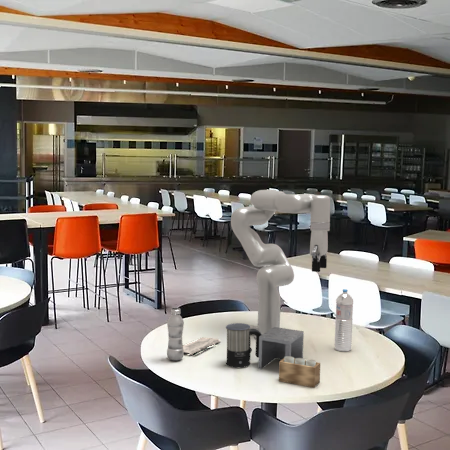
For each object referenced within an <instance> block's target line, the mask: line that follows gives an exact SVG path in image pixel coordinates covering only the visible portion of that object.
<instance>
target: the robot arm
mask: <svg viewBox="0 0 450 450" xmlns="http://www.w3.org/2000/svg"><path fill="white" fill-rule="evenodd" d="M249 202H250V204H251V206H243V207H242V206H241V207H238V208H236V209H235V210H234V211H233V212H232V214H231V217H230V226H231V230H232V231H233V233H234V235H235V237H236V239H238V241H239V242H240V245H241V246H242V248H243V250H244V252H245V254H246V255H247V257H248V259H249V261H250V262H251V264H252V265H253V266H254V267H256V268H257V267H259V268H260V267H261V268H260V269H258V271H257V273H256V284H257V291H258V292H257V293H258V295H257V296H258V298H257V299H258V300H257V303H258V304H257V305H258V306H257V308H258V309H257V310H258V311H257V326H254V325H250V328H249V329H257V330H258V331H259V332H260V333H261V334H264V333H266V332H267V331H269V330H270V329H272V328H274V327H278V328H281V327H280V326H281V325H280V324H281V295H280V292H279V290H278V287H284V286H289V285H290V284H292V283H293V281H294V278H295V273H294V269H293V267H292V265H291V263H290V261H289V260H288V258H287V256H286V255H285V253H284V251H283V249H282V248H281V247H280V246H279V245H278V244H276V243H264V242H263V241H262V239H261V237H260V235H259V234H258V232H257V231H255V229H252V228H251V227H252V226H261V225H264V224H266V223H267V222H268V221H269V220H270V219H271V218H272V217H273V215H275V213H276V212H279V213H284V214H305V213H306V214H308V213H309V214H310V219H309V220H310V222H309V223H310V225H309V226H310V227H309V228H310V231H311V233H310V243H309V244H310V245H309V255H310V256H311V272H312V273H313V272H315V273H317V272H318V273H319V272H321V269H327V267H328V266H327V262H328V261H327V259H328V258H327V254H328V248H329V247H328V246H329V245H328V243H329V241H328V240H329V239H328V235H329V234H328V232H330V230H331V229H330V227H331V223H330V222H331V197H330V196H329V195H325V194H324V195H323V194H313V193H302V194H301V193H300V194H297V193H295V194H291V193H290V194H286V193H285V192H284V191H282V190H276V189H259V190H257V191H256V190H255V192H253V193H252V194H251V196H250V200H249ZM253 338H254V339H255V340H256V335H253Z"/></svg>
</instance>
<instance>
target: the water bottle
mask: <svg viewBox="0 0 450 450" xmlns="http://www.w3.org/2000/svg"><path fill="white" fill-rule="evenodd" d="M335 303H336V306H335V307H336V308H335V309H336V310H335V325H334V326H335V327H334V350H336V351H337V352H338V351H339V352H351V350H352V345H353V343H352V340H353V314H354V313H353V311H354V310H353V309H354V306H353V305H354V298H352V296H351V295H350V294H349V293H348V289H342V293H341V294H339V295H338V296H337V298H336V299H335Z"/></svg>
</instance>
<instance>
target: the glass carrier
mask: <svg viewBox="0 0 450 450" xmlns="http://www.w3.org/2000/svg"><path fill="white" fill-rule="evenodd" d="M278 364H279V366H278V382H281V383H286V384H293V385H297V386H303V387H309V388H314V389H315V388H316V386H318V385H319V383H321V362H318V361H317V362H316V360H313V359H306V360H305V358H304V357H303V358H296V359H294V357H291V356H286V357H284V359H282V360H280V361H279V362H278Z"/></svg>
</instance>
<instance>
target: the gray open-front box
mask: <svg viewBox="0 0 450 450" xmlns="http://www.w3.org/2000/svg"><path fill="white" fill-rule="evenodd" d="M304 334H305V333H304V330H303V331H302V330H298V329H293V328H292V329H291V328H285V327H284V328H283V327H280V328H278V327H274V328H272V329H270V330H269V331H267V332H266V333H264V334H262V335H261V336H259V358H258V366H257V368H258V369H259V370H262V369H263V368H265V367H267V366H268V365H269V364H270V363H272V362H273V361H275V360H280V361H281V360H282V359H284V357H286V356H291V357H294V359H296V358H303V359H304V337H305V336H304Z"/></svg>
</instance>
